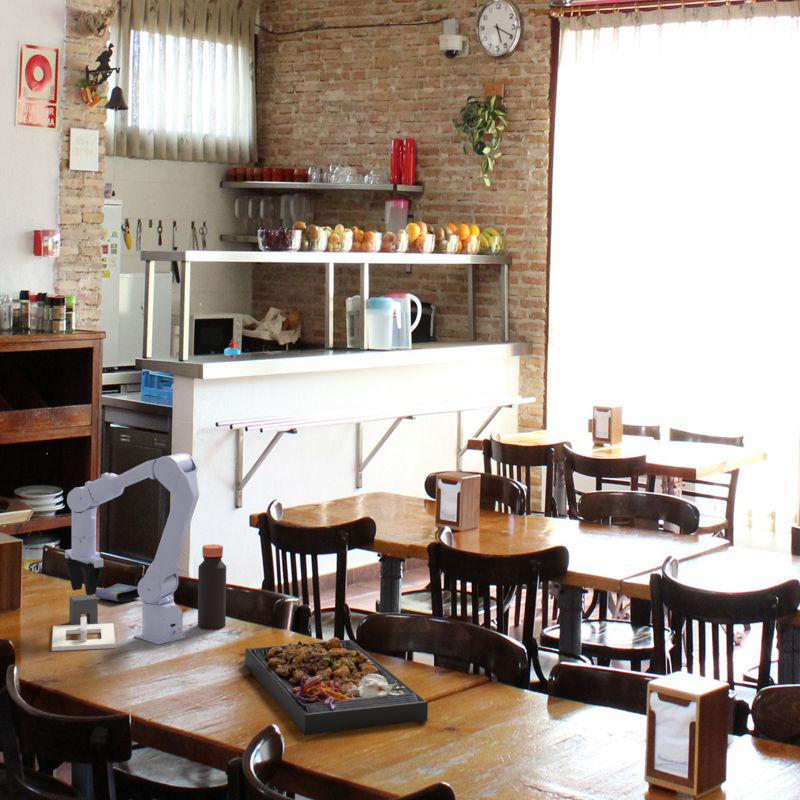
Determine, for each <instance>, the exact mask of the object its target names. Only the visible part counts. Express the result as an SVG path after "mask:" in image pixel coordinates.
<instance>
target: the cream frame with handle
mask: <svg viewBox="0 0 800 800" xmlns="http://www.w3.org/2000/svg"><path fill="white" fill-rule="evenodd" d="M88 634H100V638H94V639H93V638H92V639H88V638H87V637H88ZM67 635H80V639H73V640H71V639H70V640H67ZM115 635H116V634H115V628H114V623H113V622H112V623H111V622H110V623H98V624H88V623H87V617H86V615H85V616H81V625H71V624H67V625H66V624H65V625H53V626H52V639H51V651H52V652H56V651H57V652H60V651H62V652H63V651H79V650H100V649H102V650H105V649H116V646H117V645H116V636H115Z"/></svg>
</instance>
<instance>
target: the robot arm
mask: <svg viewBox="0 0 800 800" xmlns="http://www.w3.org/2000/svg"><path fill="white" fill-rule="evenodd" d="M198 469H199V467H198V465H197V464H196V462H195V460H194V458H193V457H192V456H191V455H190V454H188V453H186V452H183V451H181V452H177V453H175V454H171V455H164V456H161V457H158V458H155V459H150V460H146V461H145V462H143V463H141V464H138V465H136V466H135V467H132V468H131V469H129V470H127V471H125V472H123V473H120V474H116V473H113V472H104V473H102V474H100V477H99V478H97V479H94V480H93V481H91V480H88V481H86V482H85V483H84V486H79V487H78V486H77V487H74V488H73V489H71V490H70V491H69V492H68V494H67V497H66V503H67V506H68V508H69V509H70V510H71V548H70V549H66V550H65V551H64V558H65V559H68V560H65V561H63V562H62V564H63V566H64V568H65V570H66V572H67V575H68V578H69V580H70V581H69V582H70V585H71V589H72V591H78V590H82V589H83V584H84V590H85V595H93V594H94V595H95V593H96V590H97V589H98V586H99V585H98V584H99V581H100V579H101V576H102V574H103V573H104V571H105V569H106V566H105V565H104V558H102V557H101V552H99V551H97V513H98V512H97V511H98V507H99V505H102V504H104V503H106V502H108V501H111V500H113V499H115V498H117V497H119V496H121V495H122V494H123V493H124V491H125V488H126V487H129V486H131V485H133V484H136V483H138V482H141V481H142V480H145V479H148V478H149V479H151V480H157V481H158V482H159V483H160V484H162V486H164V488H165V489H166V490H168V492H170V494H171V496H172V497H173V502H172V505H171V508H170V511H169V514H168V517H167V520H166V523H165V525H164V526H165V527H164V529H163V532H162V534H161V538H160V542H159V544H158V547H157V550H156V554H155V555H154V559H153V561H152V562H151V564H150V565H149V566H148V567H147V569H146V571H145V574H144V576H143V577H142V578H141V579H140V580H139V582H138V584H137V586H136V587H137V590H138V594H139V596H140V597H139V598H140V599H141V600H142V602H141V603H142V608H141V609H142V611H141V612H142V615H141V616H142V617H141V618H142V623H141V626H142V627H141V631H142V632H140V633H136V634H134V638H137V639H141V640H143V641H147V642H150V643H152V644H156V645H162V644H167V643H171V642H175V641H179V640H183V639H185V638H186V636H185V635H183V627H184V626H183V625H184V624H183V620H184V619H183V618H184V617H183V616H184V615H183V614H184V613H183V610H182V608H181V607H180V606H179V605H177V604H176V603H175V601H174V599H175V597H174V593H175V592H176V591H177V589H178V586H179V572H180V567H179V565H178V561H179V558H180V556H181V551H182V549H183V546H184V542H185V540H186V537H187V534H188V530H189V528H190V526H191V523H192V522H191V521H192V519H193V515H194V514H195V513H194V512H195V510H196V506H197V503H198V501H199V499H200V498H199V497H200V491H199V484H198V477H197V473H198ZM83 580H84V581H83ZM83 582H84V583H83Z"/></svg>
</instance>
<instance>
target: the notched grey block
mask: <svg viewBox="0 0 800 800" xmlns="http://www.w3.org/2000/svg"><path fill="white" fill-rule="evenodd" d="M98 599H99V598H97V597H96V596H95V594H93V595H86V594H81V595H79V594H77V595H69V599H68V600H69V601H68V602H69V605H68V606H69V609H68V610H69V612H68V613H69V618H68V619H69V620H68V621H69V623H70V625H81V617H82V615H85V617H87V624H99V623H98V615H99V614H98V611H99V609H98V608H99V606H98V605H99V604H98V601H99V600H98Z"/></svg>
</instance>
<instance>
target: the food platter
mask: <svg viewBox="0 0 800 800" xmlns="http://www.w3.org/2000/svg"><path fill="white" fill-rule="evenodd" d="M244 651H245V653H244V666H246V668H247V670H249V672H250V673H251V674H252V675H253V676H254V677H255V678H256V680H257V681H258V682H259V683H260V684H261V686H262V687H263V688H264V689H265V690H266V691H267V693H268V694H269V695H270V696H271V697H272V699H273V700H274V701H275V702H276V703H277V704H278V706H279V707H280V708H281V709H282V710H283V712H284V713H285V714H286V715H287V716H288V717H289V718H290V720H291V721H292V722H293V724H295V725H296V727H297V728H298V729H299V730H300V731H301V732H302V734H303V735H304V736H309V735H317V734H325V733H334V732H339V731H341V732H342V731H348V730H358V729H365V728H366V729H367V728H373V727H381V726H383V727H384V726H389V725H391V726H392V725H398V724H407V723H415V722H422V721H428V710H429V707H428V706H429V704H428V701H426V700H425V699H424V698H423V697H421V695H419V694H418V693H417V692H415V691H414V690H413V689H412V688H411V687H410V686H408V685H407V684H406V683H404V682H403V681H402V680H401V679H399V678H398V677H397V676H396V675H395V674H393V672H391V671H390V670H388V669H387V668H386V667H385V666H384V665H383V664H381V663H380V662H379V661H378V660H376V658H374V657H373V656H371V655H370V654H369V653H368V652H367V651H365V650H364V649H363V648H362V647H360V646H359V645H358V644H357V643H355V642H354V640H352V639H343V640H340V639H339V638H338V637H336V636H335V637H331V638H330V639H328V641H321V642H320V641H319V642H315V641H308V642H306V641H302V640H299V641H298V642H297V643H296V644H293V643H291V642H290V643H288V644H284V645H282V644H281V645H273V646H272V645H271V646H263V647H262V646H261V647H249V648H245V650H244Z"/></svg>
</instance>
